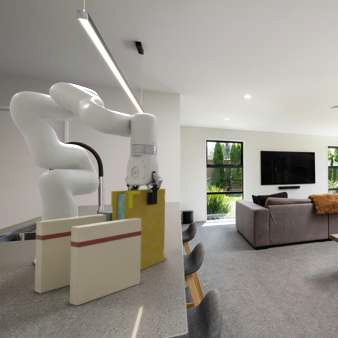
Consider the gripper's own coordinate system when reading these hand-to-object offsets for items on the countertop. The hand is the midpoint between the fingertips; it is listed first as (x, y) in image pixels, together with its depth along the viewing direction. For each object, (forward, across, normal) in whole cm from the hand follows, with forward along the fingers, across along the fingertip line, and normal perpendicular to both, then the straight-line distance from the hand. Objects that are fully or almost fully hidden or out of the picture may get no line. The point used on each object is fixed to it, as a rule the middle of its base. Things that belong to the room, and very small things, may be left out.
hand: (142, 203), depth 95 cm
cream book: (+20, -4, -18) cm, 27 cm away
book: (+21, 0, 0) cm, 21 cm away
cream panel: (+20, +12, -18) cm, 30 cm away
